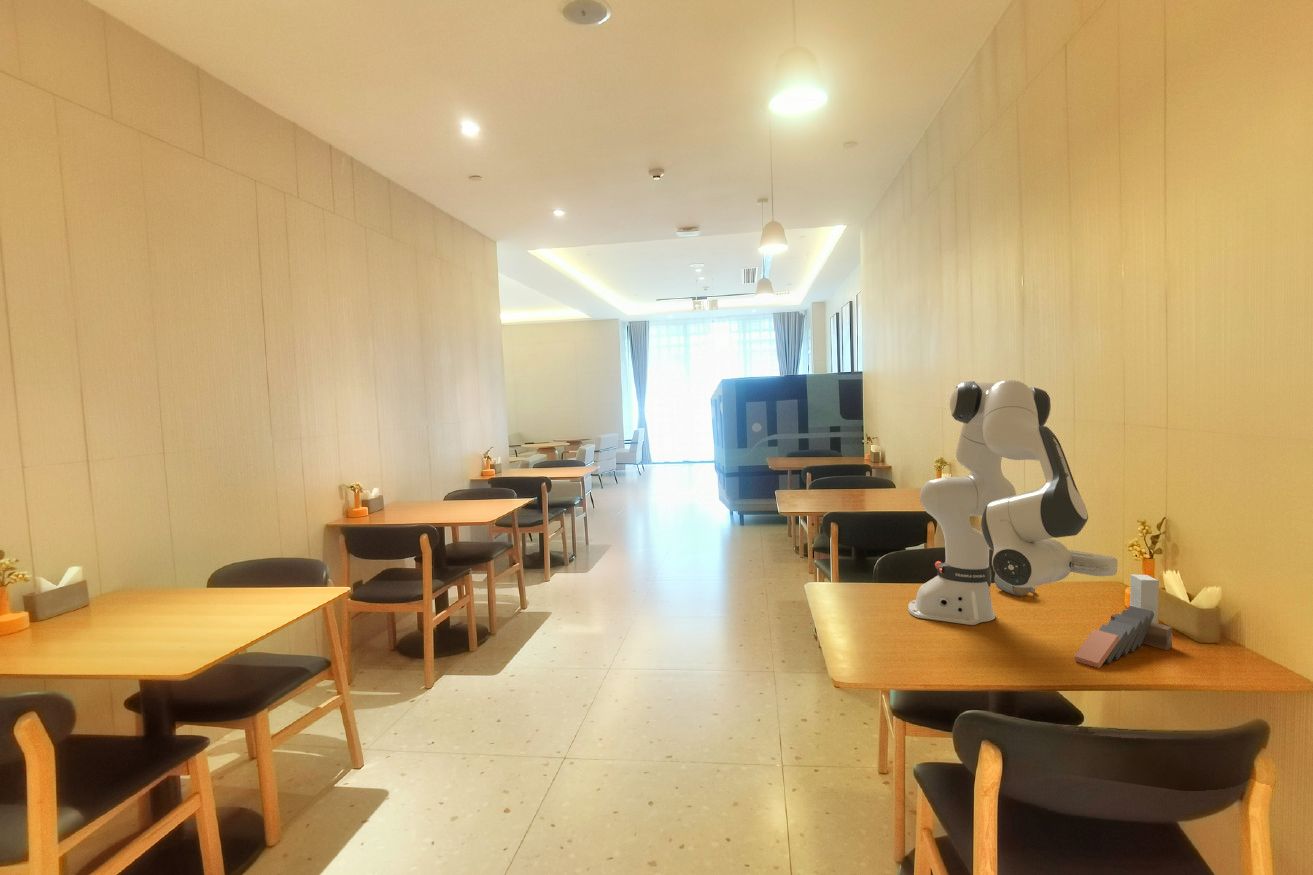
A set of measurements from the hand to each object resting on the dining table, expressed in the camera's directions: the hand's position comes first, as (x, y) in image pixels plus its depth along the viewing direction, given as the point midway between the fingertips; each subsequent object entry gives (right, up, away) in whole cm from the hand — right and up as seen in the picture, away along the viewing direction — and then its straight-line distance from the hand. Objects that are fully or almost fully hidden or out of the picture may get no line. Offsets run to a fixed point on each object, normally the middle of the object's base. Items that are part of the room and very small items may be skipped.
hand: (1072, 555), depth 143 cm
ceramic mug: (+21, -23, +60) cm, 67 cm away
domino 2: (+10, -25, +8) cm, 28 cm away
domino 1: (+7, -25, +5) cm, 27 cm away
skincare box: (+40, -24, +33) cm, 57 cm away
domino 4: (+17, -25, +12) cm, 32 cm away
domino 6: (+23, -24, +15) cm, 36 cm away
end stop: (+29, -25, +19) cm, 42 cm away
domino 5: (+20, -25, +14) cm, 35 cm away
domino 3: (+14, -25, +10) cm, 30 cm away
